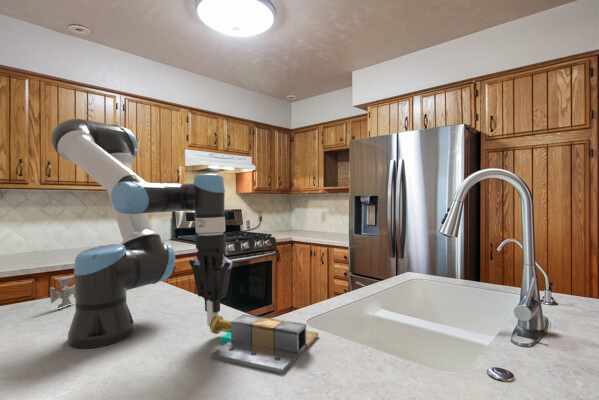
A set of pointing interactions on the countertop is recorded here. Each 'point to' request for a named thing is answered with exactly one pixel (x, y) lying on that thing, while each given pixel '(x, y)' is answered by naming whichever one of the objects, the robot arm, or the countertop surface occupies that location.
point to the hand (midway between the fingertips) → (212, 324)
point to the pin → (220, 325)
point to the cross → (63, 292)
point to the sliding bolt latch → (265, 343)
